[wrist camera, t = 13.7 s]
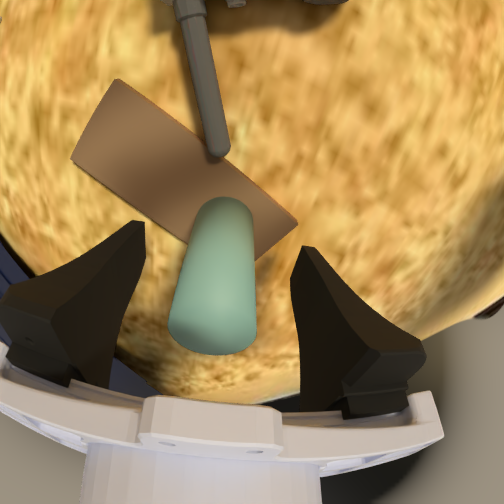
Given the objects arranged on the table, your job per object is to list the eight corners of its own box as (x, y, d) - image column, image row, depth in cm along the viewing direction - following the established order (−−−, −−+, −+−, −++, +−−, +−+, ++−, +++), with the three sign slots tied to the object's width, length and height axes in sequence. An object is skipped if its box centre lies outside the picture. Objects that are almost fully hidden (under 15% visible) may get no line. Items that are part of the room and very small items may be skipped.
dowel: (264, 226, 15) (274, 337, 9) (221, 254, 16) (209, 362, 10) (228, 185, 13) (214, 287, 8) (184, 218, 14) (150, 324, 9)
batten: (296, 219, 15) (298, 224, 15) (236, 271, 17) (236, 276, 17) (118, 78, 10) (114, 79, 10) (74, 155, 12) (69, 158, 12)
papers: (102, 413, 34) (95, 431, 31) (-37, 285, 22) (-50, 300, 19) (206, 391, 26) (201, 422, 22) (-15, 169, 14) (-44, 186, 11)
